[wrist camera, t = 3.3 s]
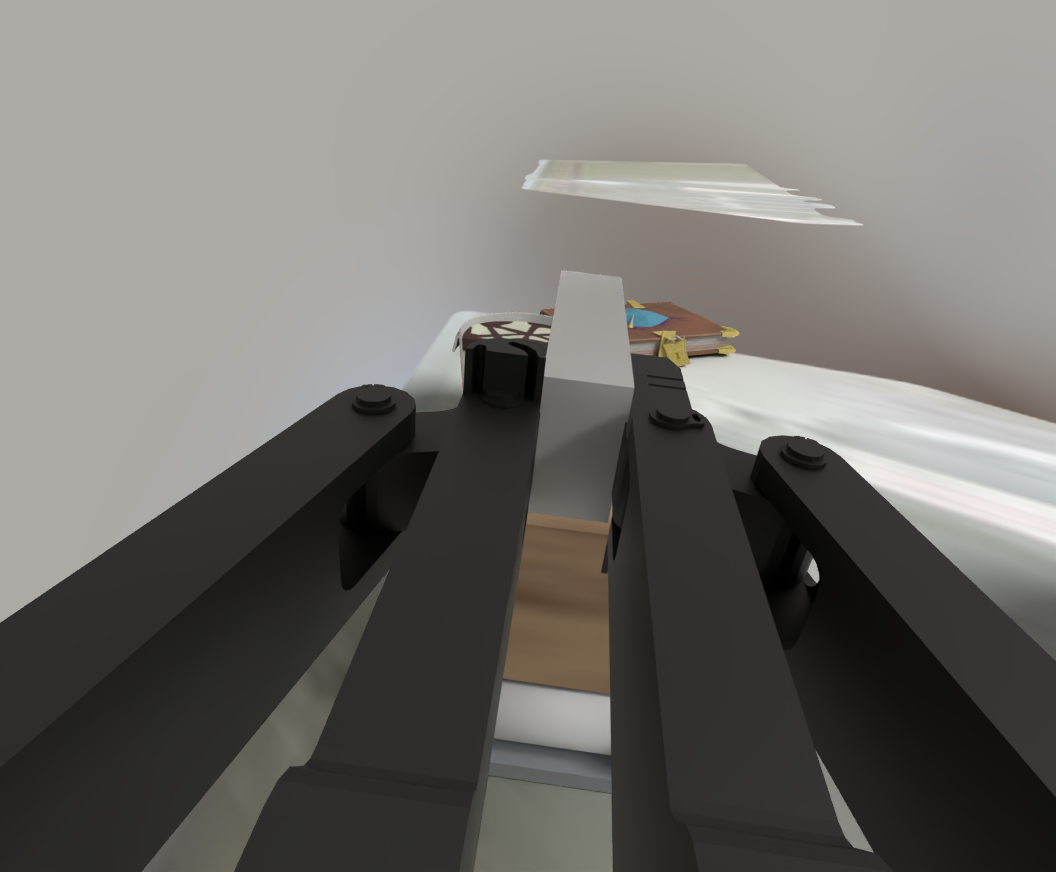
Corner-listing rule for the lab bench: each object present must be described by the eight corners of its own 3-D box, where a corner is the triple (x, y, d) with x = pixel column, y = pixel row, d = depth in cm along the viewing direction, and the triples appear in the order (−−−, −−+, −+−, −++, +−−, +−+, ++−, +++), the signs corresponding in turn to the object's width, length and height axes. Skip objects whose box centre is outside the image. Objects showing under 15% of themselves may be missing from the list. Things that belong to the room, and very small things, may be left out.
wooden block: (620, 694, 30) (657, 541, 25) (448, 670, 30) (455, 514, 26) (615, 554, 38) (642, 421, 34) (481, 537, 39) (491, 402, 34)
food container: (585, 416, 63) (600, 318, 58) (587, 449, 58) (604, 343, 53) (459, 403, 63) (463, 303, 58) (449, 434, 58) (453, 327, 53)
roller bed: (649, 798, 30) (685, 682, 26) (395, 761, 31) (393, 641, 27) (627, 494, 52) (645, 405, 48) (479, 475, 52) (485, 385, 48)
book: (504, 336, 83) (506, 298, 80) (665, 325, 92) (670, 290, 90) (561, 384, 70) (565, 340, 67) (741, 365, 79) (750, 325, 77)
